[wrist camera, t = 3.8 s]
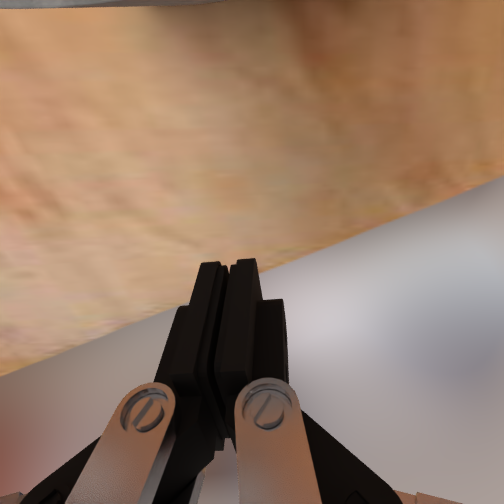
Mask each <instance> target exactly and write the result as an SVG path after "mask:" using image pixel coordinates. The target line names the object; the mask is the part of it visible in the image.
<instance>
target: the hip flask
mask: <svg viewBox="0 0 504 504" xmlns="http://www.w3.org/2000/svg"><path fill="white" fill-rule="evenodd" d="M221 1H226V0H0V9H34V8H82V7H129V6H175V5H195V4H205V3H213V2H221Z"/></svg>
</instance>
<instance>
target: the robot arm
mask: <svg viewBox="0 0 504 504" xmlns="http://www.w3.org/2000/svg"><path fill="white" fill-rule="evenodd" d="M288 376H289V373H288V349H287V331H286V319H285V311H284V303H283V299H272V300H263V298H262V292H261V286H260V280H259V274H258V269H257V263H256V259H255V258H250V259H239V260H237V263H236V264H235V265H231V267H230V273H229V272H228V268H227V266H226V265H223V266H221V263H220V262H219V261H216V262H204V263H201V265H200V268H199V272H198V275H197V279H196V282H195V286H194V289H193V292H192V296H191V299H190V303H189V305H188V306H180V307H179V308H178V309H177V312H176V314H175V318H174V321H173V324H172V327H171V330H170V333H169V336H168V339H167V342H166V345H165V348H164V351H163V354H162V358H161V361H160V364H159V367H158V370H157V373H156V376H155V379H154V382H153V383H147V384H143V385H140V386H138V387H137V388H135V389H133V390H132V391H130V392H129V393H128V394H127V395H126V396H125V397H124V398H123V399H122V401H121V402H120V404H119V405H118V406H117V408H116V410H115V412H114V414H113V416H112V418H111V419H110V421H109V423H108V425H107V427H106V429H105V430H104V432H103V434H102V435H101V436H100V437H99V438H98V439H96V440H95V441H94V442H92V443H91V444H90V445H88V446H87V447H86V448H85V449H83V450H82V451H81V452H79V453H78V454H77V455H76V456H74V457H73V458H72V459H70V460H69V461H68V462H66V463H65V464H64V465H62V466H61V467H60V468H59V469H58V470H56V471H55V472H53V473H52V474H51V475H49V476H48V477H47V478H46V479H44V480H43V481H42V482H40V483H39V484H38V485H37V486H35V487H34V488H33V489H32V490H31V491H30V492H29V493H28V494H22V493H21V492H16V493H13V494H9V495H6V496H2V497H0V504H197V503H198V499H199V496H200V492H201V489H202V485H203V482H204V478H205V472H206V466H207V465H208V464H209V463H210V462H211V461H212V460H213V459H214V453H215V451H223V450H224V441H225V438H230V437H231V440H232V443H233V445H234V448H235V451H236V454H237V468H238V486H239V504H462V503H458V502H454V501H450V500H446V499H442V498H438V497H434V496H430V495H426V494H422V493H419V492H417V493H416V496H415V495H411V494H408V493H403V492H399V491H396V490H393V489H392V488H391V487H390V486H389V485H388V484H387V483H386V482H385V481H384V480H382V479H381V478H380V477H379V476H378V475H377V474H375V473H374V472H373V471H372V470H371V469H370V468H368V467H367V466H366V465H365V464H364V463H363V462H361V461H360V460H359V459H358V458H357V457H356V456H355V455H353V454H352V453H351V452H350V451H349V450H348V449H346V448H345V447H344V446H343V445H342V444H341V443H339V442H338V441H337V440H336V439H335V438H334V437H332V436H331V435H330V434H329V433H328V432H327V431H326V430H324V429H323V428H322V427H321V426H320V425H319V424H317V423H316V422H315V421H314V420H313V419H312V418H310V417H309V416H308V415H307V414H306V413H304V411H302V410H301V409H300V404H299V400H298V398H297V396H296V393H295V391H294V390H293V389H292V388H291V387H290V385H289V377H288Z"/></svg>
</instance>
